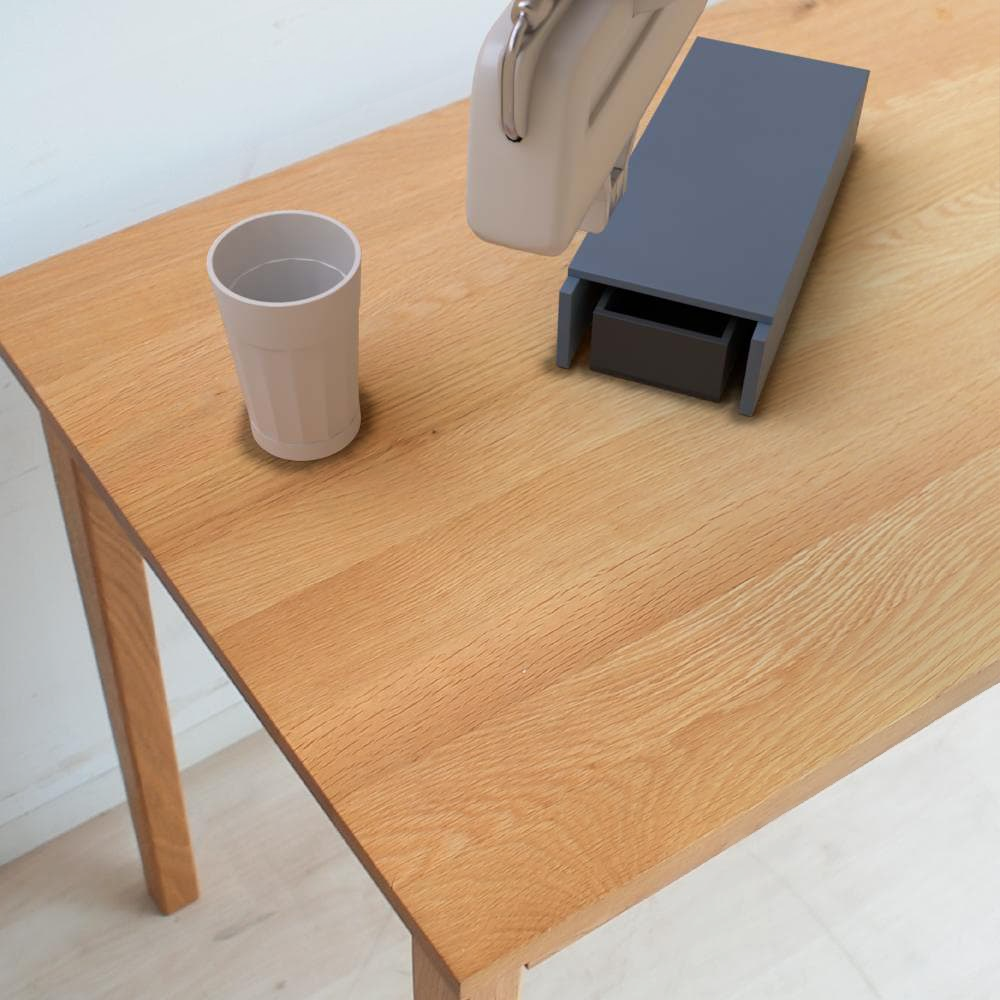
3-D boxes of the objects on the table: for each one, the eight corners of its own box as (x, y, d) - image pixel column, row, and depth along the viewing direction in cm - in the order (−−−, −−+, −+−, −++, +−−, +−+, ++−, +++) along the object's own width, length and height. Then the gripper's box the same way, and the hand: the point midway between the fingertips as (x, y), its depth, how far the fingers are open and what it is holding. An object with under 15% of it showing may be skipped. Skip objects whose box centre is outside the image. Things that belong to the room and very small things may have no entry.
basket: (718, 403, 85) (727, 345, 81) (589, 369, 87) (592, 312, 83) (759, 300, 91) (769, 242, 88) (638, 271, 93) (643, 214, 90)
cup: (370, 471, 81) (356, 306, 72) (228, 471, 81) (196, 305, 72) (379, 374, 86) (366, 209, 77) (245, 374, 86) (217, 209, 77)
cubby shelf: (751, 417, 84) (767, 333, 79) (555, 366, 87) (558, 282, 82) (853, 150, 102) (870, 69, 97) (687, 116, 105) (697, 35, 100)
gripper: (605, 44, 43) (586, 387, 53) (770, -212, 56) (730, 103, 66) (410, 6, 44) (428, 347, 55) (615, -234, 57) (598, 77, 68)
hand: (594, 212), depth 60 cm, fingers closed
